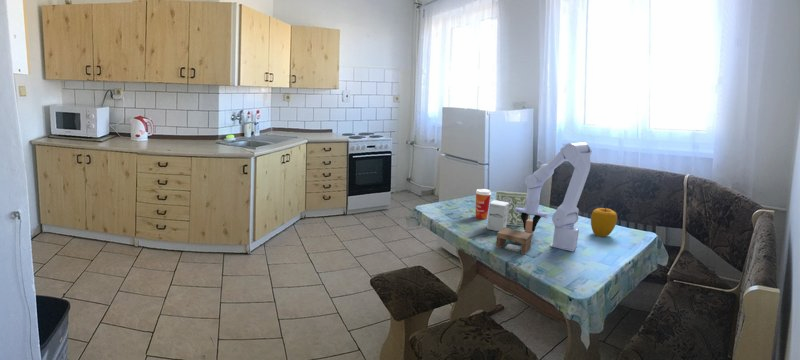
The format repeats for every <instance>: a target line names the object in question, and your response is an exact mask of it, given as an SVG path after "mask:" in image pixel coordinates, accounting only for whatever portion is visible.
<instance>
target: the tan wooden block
mask: <svg viewBox="0 0 800 360" xmlns="http://www.w3.org/2000/svg"><path fill="white" fill-rule="evenodd" d="M532 227H533V219H529V218H528V220H526V226H525V230H524V232H526V233H531V234H532V235H533V234H534V232H532ZM513 242H514V244H517V245H522V243H519V242H515V241H513Z"/></svg>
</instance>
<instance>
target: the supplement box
mask: <svg viewBox="0 0 800 360" xmlns="http://www.w3.org/2000/svg"><path fill="white" fill-rule="evenodd" d="M509 206H510V202H507V201H502V200H497V199H494V200H492V201H491V202H489V208H488V215H487V226H486V230H492V231H496V232H499V231H500V230H502V229H503V228H507V223H508V216H509V215H508V214H509Z"/></svg>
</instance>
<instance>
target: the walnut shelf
mask: <svg viewBox="0 0 800 360" xmlns="http://www.w3.org/2000/svg"><path fill="white" fill-rule="evenodd" d="M532 238H533V234H531V233H526V232H525V231H521V230H517V229H512V228H507V227H506V228H503V229H502V230H500V231H497V234H496V243H495V248H496V249H501V248H502V247H503V246H505V244H506V243H507V241H511V242H514V241H515V242H519V243H522V244H521V252H520V254H521V255H526V254H527V253H528V252H529V251H530V250H531V248H532V247H531V246H532Z"/></svg>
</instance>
